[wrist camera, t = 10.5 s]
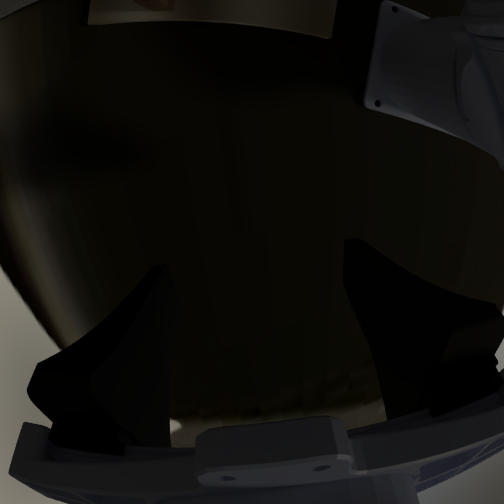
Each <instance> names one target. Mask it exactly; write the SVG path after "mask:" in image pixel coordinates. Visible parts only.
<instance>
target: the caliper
mask: <svg viewBox="0 0 504 504" xmlns="http://www.w3.org/2000/svg"><path fill="white" fill-rule="evenodd" d="M36 1H38V0H0V19H1V18H3V17H4V16H6V15H8V14H10V13H12V12H14V11H16V10H18V9H20V8H22V7H25V6H27V5H29V4H31V3H33V2H36Z"/></svg>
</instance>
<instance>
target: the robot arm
mask: <svg viewBox="0 0 504 504" xmlns="http://www.w3.org/2000/svg"><path fill="white" fill-rule="evenodd" d="M392 7H395V9H396V13H395V12H393V11H392ZM376 100H379V106H377V107H376V106H375V101H376ZM363 104H364V106H365V107H367V108H369V109H372V110H376V111H380V112H383V113H387V114H390V115H394V116H397V117H401V118H404V119H407V120H410V121H413V122H416V123H419V124H422V125H425V126H428V127H431V128H434V129H437V130H440V131H443V132H445V133H448V134H451V135H453V136H456V137H459V138H461V139H464V140H466V141H468V142H470V143H472V144H473V145H475V146H477V147H479V148H481V149H483V150H484V151H486V152H488V153H490V154H491V155H493V156H494V157H495V158H496V159H497V160H498V162H499V164H500V167H501V169H502V170H503V171H504V0H466V2H465V5H464V8H463V10H462V11H461V13H460V16H452V17H439V18H429V17H427V16H425V15H423V14H421V13H418V12H416V11H414V10H411V9H409V8H407V7H404V6H402V5H399V4H397V3H394V2H391V1H388V0H385V1H382V2H381V3H380V6H379V12H378V19H377V25H376V31H375V37H374V43H373V49H372V55H371V60H370V65H369V71H368V76H367V81H366V86H365V91H364V96H363ZM343 282H344V286H345V289H346V292H347V295H348V299H349V301H350V304H351V306H352V308H353V310H354V312H355V315H356V317H357V319H358V321H359V324H360V326H361V328H362V330H363V332H364V335H365V337H366V339H367V342H368V344H369V347H370V350H371V353H372V357H373V360H374V363H375V367H376V371H377V375H378V379H379V383H380V387H381V391H382V396H383V401H384V405H385V411H386V417H387V421H384V422H380V423H376V424H372V425H368V426H364V427H360V428H355V429H351V430H346V426H345V424H344V422H343V420H341V419H339V418H335V417H331V416H328V415H327V416H310V417H304V418H297V419H291V420H283V421H275V422H267V423H258V424H248V425H236V426H223V427H218V428H212V429H208V430H206V431H205V432H203V433H201V434H200V435H198V436H197V437H196V446H195V448H171V440H170V415H169V406H170V375H171V367H172V361H173V355H174V350H175V344H176V339H177V334H178V328H179V322H180V299H179V296H178V293H177V290H176V287H175V284H174V281H173V278H172V275H171V272H170V269H169V266H168V264H163V265H156V266H153V267H152V268H151V269H150V270H149V272H148V273H147V274H146V275H145V276H144V277H143V278H142V280H141V281H140V282H139V283H138V284H137V285H136V287H135V288H134V289H133V290H132V291H131V292H130V293H129V295H128V296H127V297H126V298H125V299H124V300H123V301H122V302H121V303H120V304H119V305H118V306H117V307H116V308H115V309H114V311H113V312H111V313H110V314H109V315H108V316H107V317H106V318H105V319H104V320H103V321H102V322H101V323H99V324H98V325H97V326H96V327H95V328H93V329H92V330H91V331H90V332H88V333H87V334H86V335H84V336H83V337H82V338H80V339H79V340H78V341H76V342H75V343H73V344H72V345H70V346H68V347H67V348H65V349H64V350H62V351H60V352H59V353H57V354H55V355H53V356H51V357H49V358H47V359H45V360H43V361H41V362H39V363H38V364H37V366H36V368H35V370H34V373H33V375H32V377H31V380H30V382H29V385H28V387H27V394H28V396H29V398H30V400H31V401H32V402H33V403H34V405H35V406H36V407H37V408H38V409H40V411H41V412H43V414H45V415H46V416H47V417H48V418H49V419H50V420H51V421H52V422H53V424H52V427H51V429H50V428H48V427H46V426H43V425H38V424H33V423H28V422H24V423H23V425H22V429H21V431H20V434H19V438H18V441H17V444H16V447H15V451H14V454H13V457H12V461H11V464H10V468H9V472H8V473H9V475H11V476H12V477H14V478H15V479H17V480H18V481H20V482H22V483H23V484H25V485H27V486H29V487H30V488H32V489H33V490H35V491H37V492H39V493H41V494H43V495H44V496H46V497H48V498H51V499H54V500H58V501H61V502H64V503H68V504H419V501H418V497H417V493H418V492H421V491H423V490H425V489H428V488H430V487H432V486H435V485H437V484H439V483H441V482H443V481H446V480H448V479H450V478H452V477H454V476H456V475H458V474H460V473H462V472H464V471H466V470H468V469H469V468H471V467H473V466H475V465H477V464H479V463H481V462H482V461H484V460H486V459H487V458H490V457H491V456H493V455H495V454H497V453H498V452H500V451H502V450H503V449H504V369H502V370H501V371H500V372H498V370H497V368H496V365H497V364H498V360H497V358H496V357H495V353H496V351H497V349H498V348H499V346H500V344H501V342H502V340H503V338H504V316H503V314H502V313H501V312H500V310H499V309H498V308H497V306H496V305H495V304H494V303H490V302H485V301H481V300H476V299H472V298H469V297H466V296H462V295H459V294H456V293H453V292H451V291H448V290H445V289H443V288H441V287H438V286H436V285H434V284H431V283H429V282H427V281H425V280H423V279H421V278H419V277H417V276H416V275H414V274H412V273H410V272H409V271H407V270H405V269H404V268H402V267H400V266H399V265H397V264H396V263H394V262H393V261H391V260H390V259H388V258H387V257H385V256H384V255H382V254H381V253H380V252H378V251H377V250H375V249H374V248H373V247H371V246H370V245H368V244H367V243H365V242H364V241H363V240H361V239H359V238H354V239H346V240H344V263H343Z"/></svg>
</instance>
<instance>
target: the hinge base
mask: <svg viewBox="0 0 504 504" xmlns="http://www.w3.org/2000/svg"><path fill="white" fill-rule="evenodd" d="M336 6H337V0H91V2H90V9H89V17H88V25H93V26H95V25H103V24H113V23H125V22H142V21H202V22H219V23H231V24H242V25H251V26H259V27H266V28H273V29H279V30H285V31H291V32H297V33H302V34H307V35H312V36H316V37H321V38H325V39H329V38H331V37H332V31H333V25H334V19H335V12H336Z"/></svg>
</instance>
